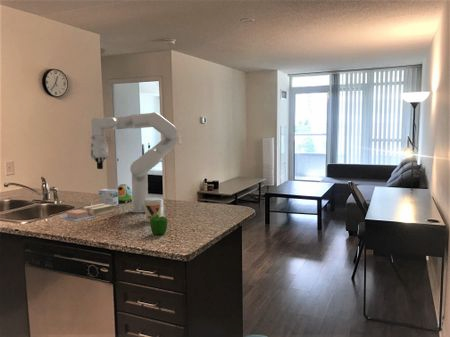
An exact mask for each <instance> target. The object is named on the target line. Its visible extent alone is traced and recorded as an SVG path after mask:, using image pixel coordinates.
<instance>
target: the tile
mask: <svg viewBox="0 0 450 337" xmlns="http://www.w3.org/2000/svg"><path fill="white" fill-rule="evenodd" d="M66 216H67V217H71V218H76V219H79V218H84V217H88V211H83V210H82V209H77V208H76V209H73V210H68V211H66Z"/></svg>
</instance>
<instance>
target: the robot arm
mask: <svg viewBox="0 0 450 337" xmlns="http://www.w3.org/2000/svg"><path fill="white" fill-rule="evenodd" d="M90 125H91V136H90V139H91V142H90V157H91V160H92V161H95V163H96V167H97V168H96V169H97V170H103V168H104V161H105V160H106V159H108V156H109V154H110V153H109V144H108V141H107V140H106V130H109V131H111V130H113V131H115V130H127V129H132V130H133V129H144V128H146V129H147V128H153V129H154V130H156V131H157V132H158V133H160V134H161V135H163V138H162V139H161V140H160V141H159V142H157V144H156V145H154V146H152V147H151V148H150V149H148V150H146V152H145V153H143V154H142V155H141V156H139V158H137V159H136V160H134V161H133V162H132V163H131V165H130V168H129V170H130V174H131V190H132V201H131V202H132V204H131V205H132V206H131V207H132V208H130V209H129V211H130V212H131V213H139V214H141V213H145V204H144V200H145V199H146V198H149V190H148V189H149V182H148V178H149V177H148V173H149V172H150V171H151V170H152V169H154V167H156V165H158V164H159V163H160V162H161V160H162V159H163V158H164V157H166V155H168V154H169V153H170V152H172V150H173V149H174V148H175V147H176V144H177V142H178V128H177V127H176V126H175V125H174V124H173V123H171V122H170V121H169V120H168V119H166V118H165V117H163V116H162V115H161V114H160V113H158V112H155V111H154V112H148V113H136V114H135V113H134V114H131V115H126V116H125V115H124V116H118V117H117V116H115V117H113V116H109V117H108V116H107V117H92V118H91V119H90Z"/></svg>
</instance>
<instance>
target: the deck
mask: <svg viewBox="0 0 450 337" xmlns="http://www.w3.org/2000/svg"><path fill="white" fill-rule="evenodd" d="M81 210H83V211H88V215H90V216H95V217H96V216H102V215H106V214H110V213H115V206H114V205H109V204H103V203H101V204H99V203H96V204H92V205H86V206H85V205H84V206H82V208H81Z"/></svg>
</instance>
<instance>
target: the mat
mask: <svg viewBox="0 0 450 337" xmlns="http://www.w3.org/2000/svg"><path fill="white" fill-rule="evenodd" d="M95 217H96V216H92V215H88V217H84V218H79V219H76V218H71V217H67V215H63V216H59V217H58V219H63V220H67V221H70V222H79V221H83V220H88V219H93V218H95Z"/></svg>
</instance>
